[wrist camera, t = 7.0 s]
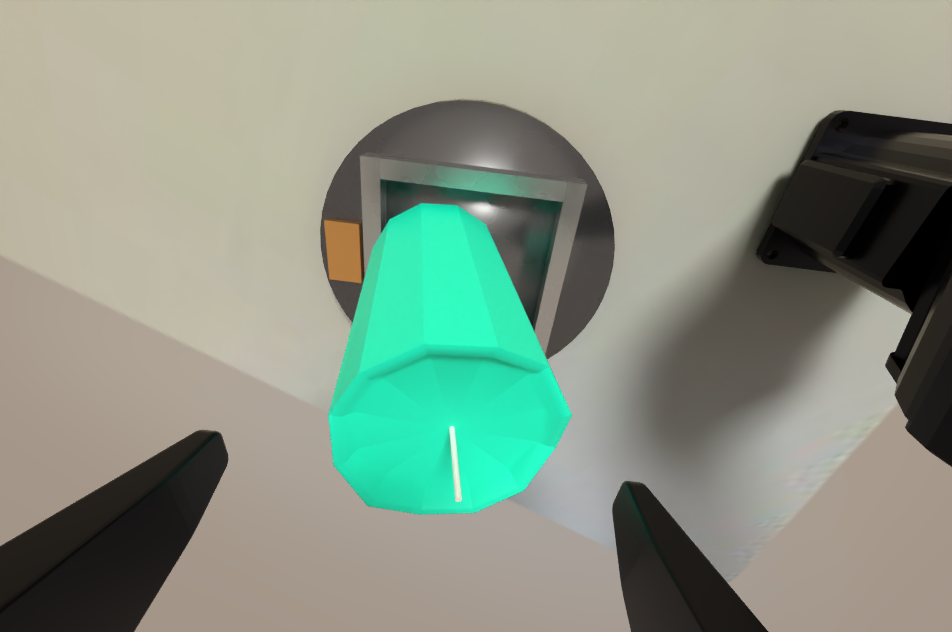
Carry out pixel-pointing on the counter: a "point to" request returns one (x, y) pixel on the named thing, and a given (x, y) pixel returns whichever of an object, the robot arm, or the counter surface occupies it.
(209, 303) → the counter surface
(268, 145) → the counter surface
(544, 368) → the candle
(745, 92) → the counter surface
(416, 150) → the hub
